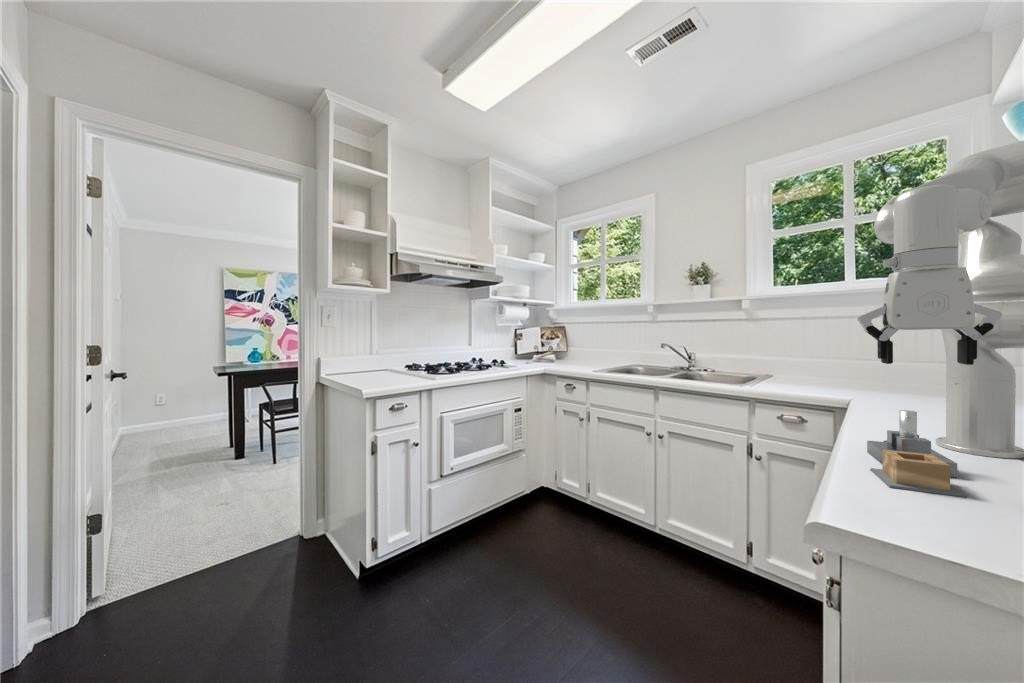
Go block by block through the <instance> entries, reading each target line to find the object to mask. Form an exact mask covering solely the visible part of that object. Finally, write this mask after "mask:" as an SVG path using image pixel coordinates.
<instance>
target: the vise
mask: <svg viewBox="0 0 1024 683" xmlns="http://www.w3.org/2000/svg"><path fill="white" fill-rule="evenodd" d="M898 412H899V419H898V425H899V426H898V427H899V429H898V430H886V440H883V441H879V440H878V441H877V440H866V449H867V450H866V452H867V453H868V454H869V455H870V456H871V457H872V458H874V459H875V460H876V461H877V462H879V463H880V464H881V465H882V466H883V450H892V451H903V452H913V453H924V454H932V455H933V456H935V457H937V458H938V459H940V460H942V461H944V462H945V463H947V464H949V465H950V478H958V463H957V462H955V461H954V460H952V459H951V458H949V457H947V456H944V455H943V454H941V453H939V452H937V451H935V449H932V441H931V440H929V439H927V438H925V437H920V434H918V412H917V411H915V410H911V409H910V410H907V409H900V410H899V411H898Z"/></svg>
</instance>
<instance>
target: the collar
mask: <svg viewBox="0 0 1024 683" xmlns="http://www.w3.org/2000/svg"><path fill="white" fill-rule="evenodd" d="M882 469H883V472H884V473H885V474H886V475H887V476H888V477H890V478H891V479H892V480H893V481H894V482H895V483H896V484H904V485H912V486H920V487H928V488H936V489H944V490H950V484H951V477H950V465H949V464H947V463H945V462H944V461H942V460H940V459H938V458H937V457H935V456H933V455H932V454H924V453H913V452H903V451H892V450H883V465H882Z"/></svg>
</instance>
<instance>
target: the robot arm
mask: <svg viewBox="0 0 1024 683" xmlns="http://www.w3.org/2000/svg"><path fill="white" fill-rule="evenodd" d="M1019 213H1024V140H1020V141H1016V142H1013V143H1009V144H1005V145H1002V146H997V147H994V148H989V149H987V150H982V151H980V152H974V153H972V154H970V155H968V156H965V157H962V158H961V159H960V160H958V161H957V162H955V163H954V164H952V165H951V167H950V168H948V170H947V171H946V172H945V173H943V175H941V176H939V177H936V178H934V179H931V180H929V181H927V182H925V183H923V184H920V185H918V186H916V187H913V188H910V189H909V190H907V191H904V192H902V193H899V194H898V195H896V196H894V197H892V198H891V199H889V201H887V202H886V203H885V204H884V205H883V206H882V207H881V208H880V209H879V211H878V212H877V214H876V216H875V220H874V223H873V230H874V233H875V236H876V238H877V239H878V240H879V241H880V242H882V243H884V244H887V245H893V255H891V257H890V258H888V259H883V260H882V267H883V268H891V270H892V272H891V273H889V274H888V275H887V281H886V284H885V288H884V295H883V303H882V306H880V307H878V308H875V309H873V310H871V311H868V312H867V313H864V314H862V315H859V316H858V317H857V318H856V319H857V321H858V323H859V324H860V325H861V327H862V328H863V331H865V333H867V334H868V335H870V336H871V337H873V338H874V340H876V341H877V344H876V345H877V358H878V359H879V360H880V362H881V363H883V364H886V365H889V364H890V365H891V364H893V363H894V342H893V341H892V340H891V337H893V336H894V335H895V334H896V333H898V331H899V330H903V331H904V330H905V331H906V330H907V331H908V330H909V331H910V330H911V331H912V330H913V331H914V330H917V331H918V330H922V331H923V330H941V335H942V340H943V345H944V352H945V359H946V360H945V363H946V364H945V365H946V366H945V367H946V368H945V370H946V371H945V372H946V373H945V374H946V375H945V376H946V377H945V378H946V379H945V380H946V381H945V382H946V385H945V386H946V387H945V388H946V389H945V390H946V391H945V393H946V398H945V399H946V400H945V402H946V403H945V406H946V407H945V436H942V437H941V436H940V437H937V438H935V444H936V446H939V447H940V448H942V449H943V448H944V449H945V450H950V451H953V452H958V453H963V454H968V455H969V454H970V455H974V456H982V457H989V458H998V459H1024V448H1022V447H1019V446H1018V445H1017V446H1016V385H1017V384H1016V382H1017V381H1016V380H1017V379H1016V377H1017V376H1016V374H1017V373H1016V370H1015V367H1014V365H1012V363H1011V362H1010V361H1009V360H1008V359H1006V358H1005V357H1003V356H1002V354H1000V353H999V352H998V351H997V349H1001V350H1002V349H1024V301H1023V300H1024V253H1022V254H1021V248H1022V237H1021V235H1020V234H1019V233H1018V232H1017V231H1015V230H1013V229H1012V228H1011V227H1010V226H1007V225H1006V224H1002V223H1000V222H998V221H995V220H993V219H991V218H995V217H1000V216H1007V215H1013V214H1019ZM959 244H960V245H959ZM959 246H960V255H959ZM975 302H977V303H975ZM980 302H981V303H980ZM880 316H882V318H881V319H882V320H881V322H882V326H883V327H882V328H881V329H878V327H876V326H875V325H874V324H873V322H872V320H874V319H877V318H878V317H880Z"/></svg>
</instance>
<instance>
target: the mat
mask: <svg viewBox="0 0 1024 683" xmlns="http://www.w3.org/2000/svg"><path fill="white" fill-rule="evenodd" d="M870 471H871V472H872V473H873V474H874V475H875V476H876V477H877V478H879V480H880V481H882V482H883V483H884V484H885V485H886V486H887V487H888V488H890V489H898V490H899V489H900V490H906V491H915V492H921V493H929V494H937V495H938V494H939V495H946V496H953V497H959V498H960V497H962V498H968V495H967V493H965V492H963V491H962V490H960V489H959V488H958V487H955V485H952V484H951V483H950V490H944V489H936V488H928V487H920V486H912V485H904V484H896V483H895V482H894V481H893V480H892V479H891V478H890V477H888V476H887V475H886V474H885V473H884V472H883V468H874V467H873V468H872V467H871V468H870Z"/></svg>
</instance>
